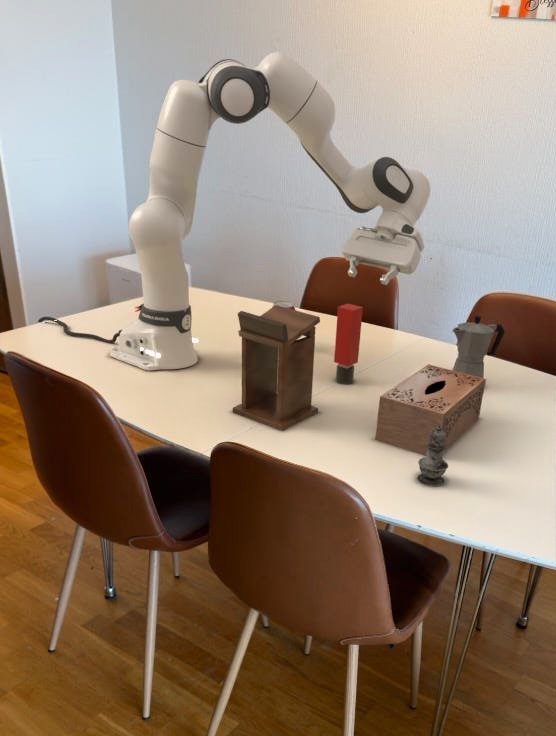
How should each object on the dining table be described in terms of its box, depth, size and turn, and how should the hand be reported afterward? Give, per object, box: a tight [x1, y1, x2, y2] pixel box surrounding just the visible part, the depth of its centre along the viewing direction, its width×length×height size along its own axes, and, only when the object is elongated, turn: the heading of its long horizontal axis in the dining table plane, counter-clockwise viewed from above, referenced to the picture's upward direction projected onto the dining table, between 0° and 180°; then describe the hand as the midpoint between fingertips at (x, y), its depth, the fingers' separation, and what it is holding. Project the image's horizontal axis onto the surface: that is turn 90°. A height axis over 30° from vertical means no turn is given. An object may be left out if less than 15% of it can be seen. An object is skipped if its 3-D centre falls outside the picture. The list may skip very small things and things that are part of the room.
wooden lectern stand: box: [232, 305, 321, 432], centre depth 156 cm, size 14×14×23 cm
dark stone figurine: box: [417, 424, 449, 487], centre depth 137 cm, size 6×6×12 cm
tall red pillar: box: [333, 303, 364, 385], centre depth 178 cm, size 20×4×9 cm
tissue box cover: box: [374, 363, 487, 456], centre depth 159 cm, size 26×14×10 cm, turn 151°
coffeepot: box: [452, 315, 506, 378], centre depth 184 cm, size 15×9×18 cm, turn 113°
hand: (366, 279), depth 174 cm, fingers open, 8 cm apart
